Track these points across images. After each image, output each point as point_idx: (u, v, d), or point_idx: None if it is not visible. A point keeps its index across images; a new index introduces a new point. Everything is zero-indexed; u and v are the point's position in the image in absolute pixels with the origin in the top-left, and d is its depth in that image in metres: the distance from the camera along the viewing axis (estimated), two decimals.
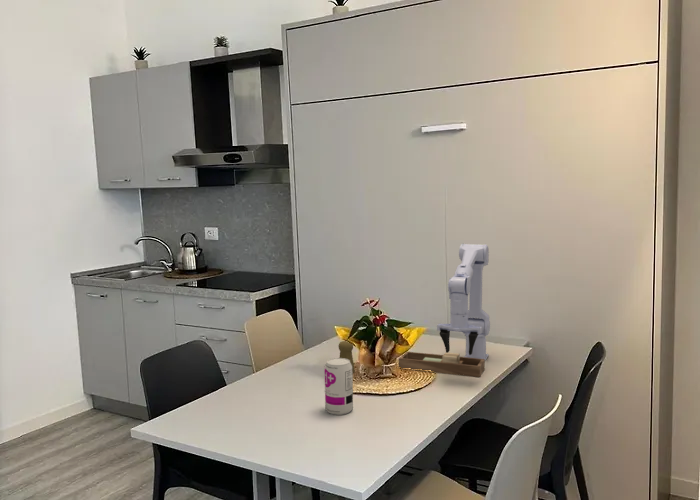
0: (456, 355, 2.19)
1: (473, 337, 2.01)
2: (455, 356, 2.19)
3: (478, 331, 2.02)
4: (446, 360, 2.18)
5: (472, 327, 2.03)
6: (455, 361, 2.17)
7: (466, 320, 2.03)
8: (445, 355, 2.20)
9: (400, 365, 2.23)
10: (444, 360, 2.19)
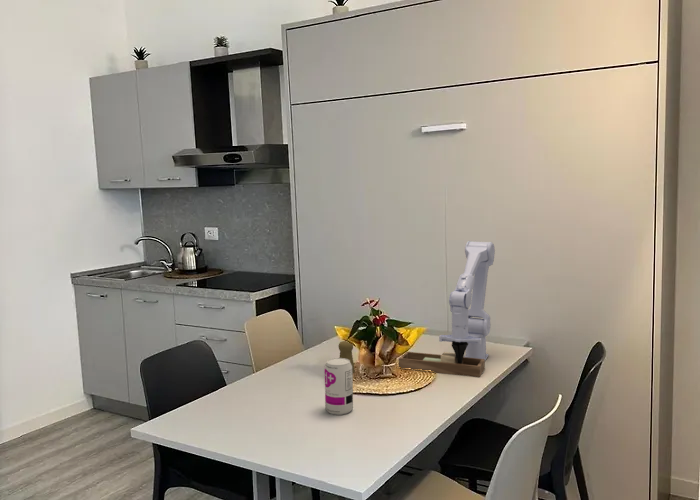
0: (454, 355, 2.20)
1: (463, 347, 2.15)
2: (453, 356, 2.19)
3: (478, 342, 2.15)
4: (444, 359, 2.19)
5: (472, 338, 2.16)
6: (453, 361, 2.18)
7: (467, 332, 2.16)
8: (443, 355, 2.20)
9: (400, 365, 2.23)
10: (442, 360, 2.19)
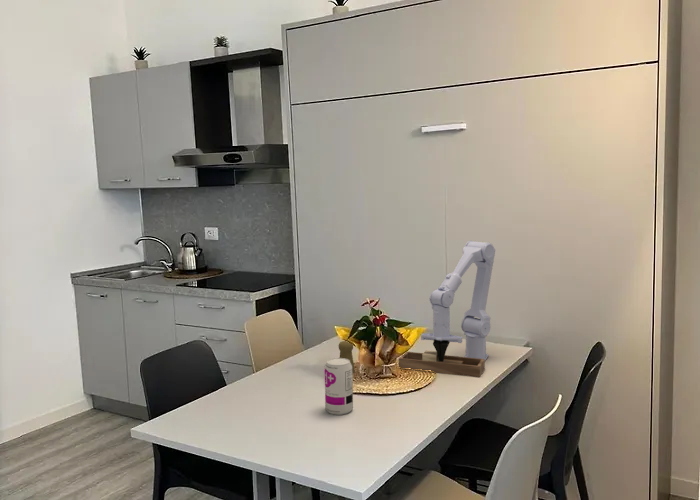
0: (436, 353, 2.22)
1: (444, 345, 2.18)
2: (435, 354, 2.21)
3: (459, 340, 2.17)
4: (426, 358, 2.21)
5: (453, 337, 2.18)
6: (434, 359, 2.20)
7: (448, 330, 2.19)
8: (425, 353, 2.22)
9: (400, 365, 2.23)
10: (424, 358, 2.22)
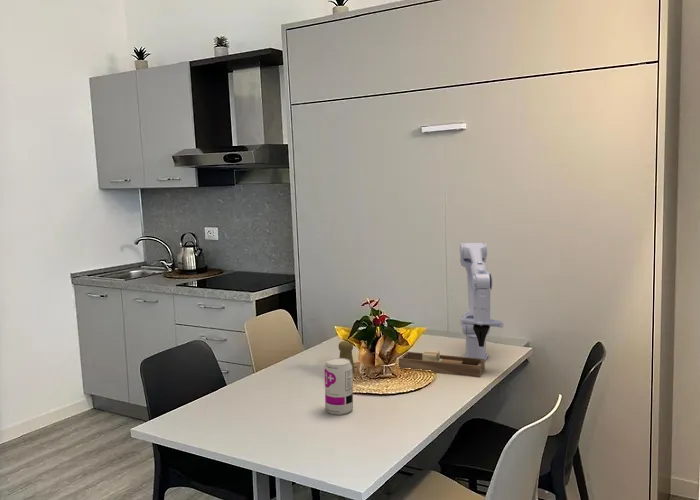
0: (436, 353, 2.22)
1: (485, 330, 2.13)
2: (435, 354, 2.21)
3: (500, 325, 2.12)
4: (426, 358, 2.21)
5: (494, 321, 2.13)
6: (434, 359, 2.20)
7: (488, 315, 2.13)
8: (425, 353, 2.22)
9: (400, 365, 2.23)
10: (424, 358, 2.22)
